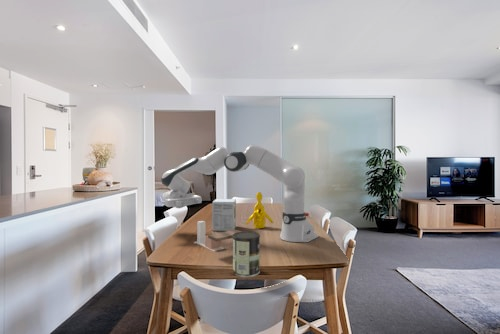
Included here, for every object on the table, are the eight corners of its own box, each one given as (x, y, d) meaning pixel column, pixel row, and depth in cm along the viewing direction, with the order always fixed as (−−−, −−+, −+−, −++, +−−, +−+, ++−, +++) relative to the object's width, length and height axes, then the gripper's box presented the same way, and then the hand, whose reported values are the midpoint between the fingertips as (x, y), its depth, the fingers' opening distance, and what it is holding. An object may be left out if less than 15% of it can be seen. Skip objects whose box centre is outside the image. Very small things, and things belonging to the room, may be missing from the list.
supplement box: (233, 231, 162) (233, 202, 161) (211, 230, 163) (211, 201, 162) (236, 226, 175) (236, 198, 175) (216, 225, 176) (216, 198, 175)
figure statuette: (246, 229, 167) (246, 193, 167) (244, 226, 175) (245, 191, 174) (274, 228, 169) (274, 193, 168) (272, 225, 177) (272, 191, 176)
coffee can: (256, 265, 108) (257, 230, 108) (262, 276, 98) (262, 237, 98) (231, 267, 107) (231, 231, 106) (233, 278, 96) (234, 239, 96)
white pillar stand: (204, 242, 139) (204, 220, 139) (224, 250, 125) (224, 226, 125) (194, 244, 135) (194, 221, 135) (213, 253, 121) (213, 228, 121)
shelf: (235, 250, 127) (235, 229, 127) (244, 254, 122) (244, 232, 122) (207, 257, 118) (207, 235, 117) (216, 261, 112) (216, 238, 112)
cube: (214, 244, 131) (214, 234, 131) (220, 247, 127) (220, 236, 127) (205, 246, 128) (205, 235, 128) (211, 249, 124) (211, 238, 124)
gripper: (160, 196, 148) (171, 198, 137) (194, 193, 161) (206, 194, 151) (160, 208, 148) (171, 211, 138) (194, 203, 161) (206, 206, 151)
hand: (190, 202), depth 144 cm, fingers open, 8 cm apart
